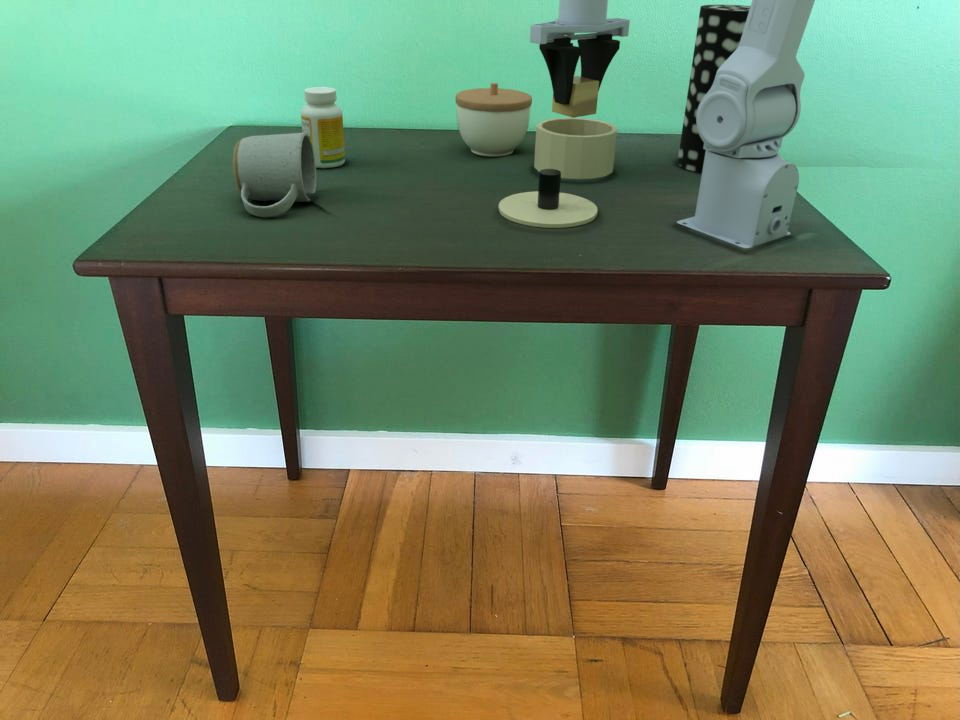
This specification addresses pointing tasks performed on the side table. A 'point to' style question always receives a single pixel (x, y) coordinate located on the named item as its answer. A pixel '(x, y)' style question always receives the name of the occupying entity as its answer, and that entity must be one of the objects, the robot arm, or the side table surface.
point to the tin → (575, 147)
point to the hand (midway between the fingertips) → (575, 101)
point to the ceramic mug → (274, 171)
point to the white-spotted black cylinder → (708, 71)
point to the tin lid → (548, 205)
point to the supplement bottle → (324, 126)
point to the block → (580, 98)
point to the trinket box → (493, 119)
